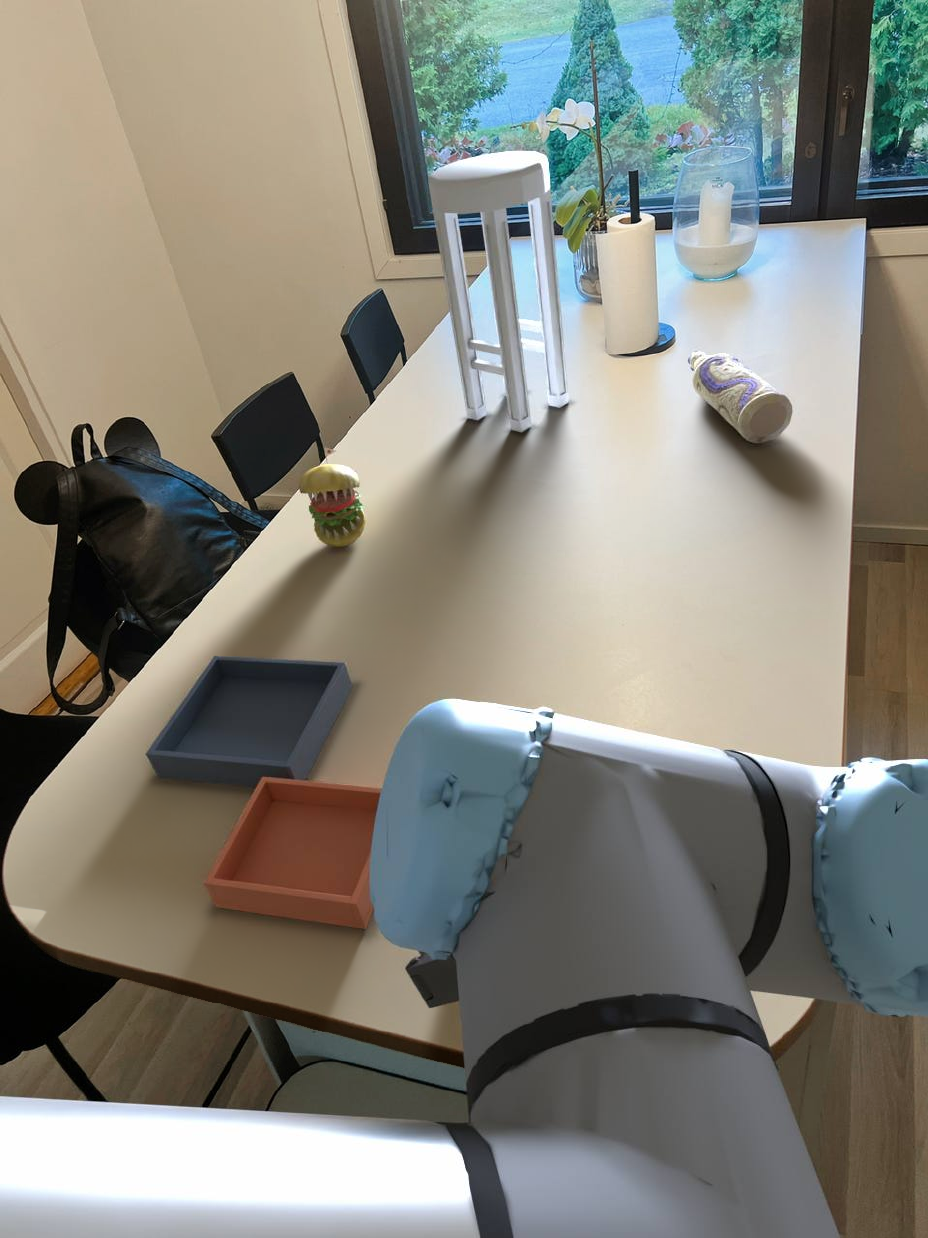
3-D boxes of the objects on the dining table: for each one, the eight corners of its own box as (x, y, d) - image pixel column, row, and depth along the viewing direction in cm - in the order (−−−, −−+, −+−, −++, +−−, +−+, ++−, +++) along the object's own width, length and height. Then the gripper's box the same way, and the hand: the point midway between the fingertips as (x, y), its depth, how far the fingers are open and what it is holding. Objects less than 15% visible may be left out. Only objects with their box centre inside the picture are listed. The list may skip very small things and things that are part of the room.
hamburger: (309, 554, 112) (283, 471, 105) (321, 524, 118) (297, 444, 110) (367, 549, 111) (345, 465, 104) (377, 519, 116) (356, 437, 109)
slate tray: (157, 777, 84) (145, 754, 82) (224, 678, 95) (214, 655, 93) (300, 791, 80) (290, 767, 78) (353, 686, 90) (345, 662, 88)
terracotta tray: (216, 907, 71) (202, 883, 69) (272, 800, 79) (262, 776, 77) (366, 929, 67) (356, 904, 65) (408, 815, 75) (401, 789, 73)
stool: (513, 382, 145) (483, 149, 124) (587, 398, 135) (569, 149, 114) (449, 420, 137) (405, 178, 116) (523, 441, 128) (490, 181, 107)
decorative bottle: (794, 437, 116) (798, 390, 112) (740, 450, 116) (741, 403, 112) (718, 368, 137) (718, 326, 133) (671, 379, 136) (670, 337, 132)
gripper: (511, 1155, 33) (384, 1051, 53) (891, 796, 44) (668, 819, 63) (407, 986, 34) (319, 944, 53) (808, 669, 44) (611, 730, 63)
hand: (508, 876), depth 58 cm, fingers open, 13 cm apart
